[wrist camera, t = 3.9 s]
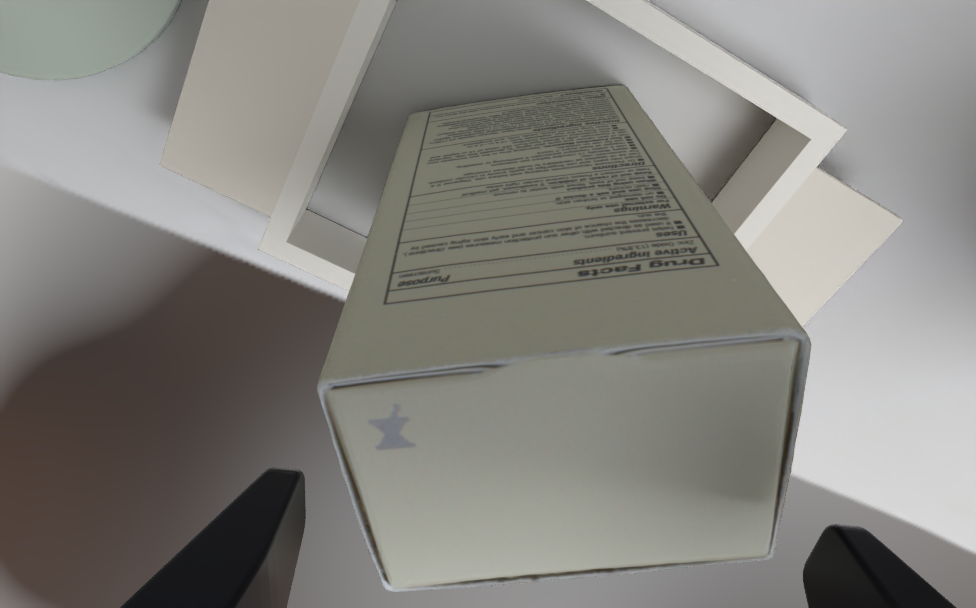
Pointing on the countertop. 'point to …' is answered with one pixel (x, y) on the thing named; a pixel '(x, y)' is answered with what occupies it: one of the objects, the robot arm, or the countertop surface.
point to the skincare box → (558, 356)
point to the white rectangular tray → (337, 77)
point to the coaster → (77, 35)
